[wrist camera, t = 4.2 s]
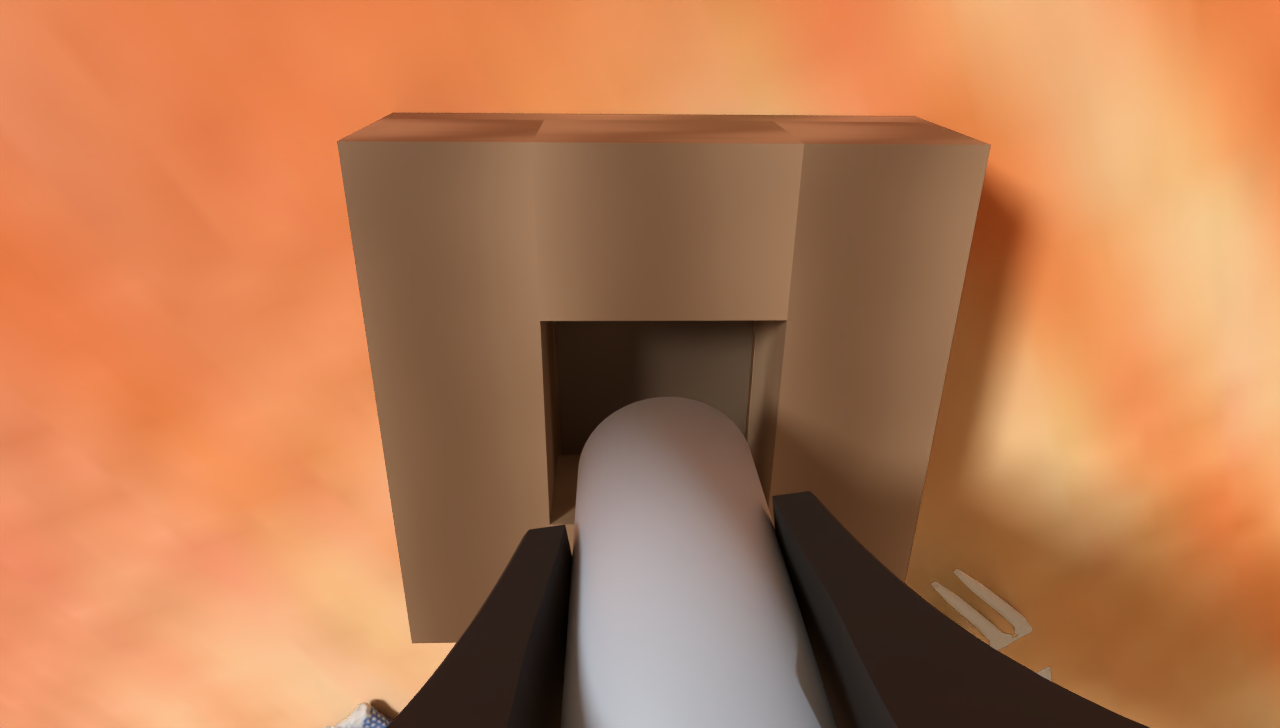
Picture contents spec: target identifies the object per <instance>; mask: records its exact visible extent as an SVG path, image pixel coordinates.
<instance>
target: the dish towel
mask: <svg viewBox="0 0 1280 728" xmlns="http://www.w3.org/2000/svg"><path fill="white" fill-rule="evenodd" d="M391 722H392V720H391V719H389V718H387V717H386V716H384V715H382V714H380V713H379V712H378V711H377V710H376V709H375V708H373V707H372V706H370V705H369V704H368V703H362V704H359V705H358V706H357V707H356V709H355V710H354V711H353V713H352V714H351V715H350V716H348V717H347V718H346V719H344V720H343V721H341V722H340V723H338V724H336V725H334V726H333V727H328V726H327V727H326V728H386V727H387V726H388V725H389V724H390V723H391Z"/></svg>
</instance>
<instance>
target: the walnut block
mask: <svg viewBox="0 0 1280 728" xmlns="http://www.w3.org/2000/svg"><path fill="white" fill-rule="evenodd" d="M337 143H338V150H339V156H340V163H341V170H342V176H343V183H344V190H345V197H346V203H347V210H348V217H349V223H350V230H351V237H352V243H353V250H354V257H355V264H356V270H357V277H358V284H359V290H360V297H361V304H362V310H363V317H364V324H365V331H366V337H367V344H368V351H369V357H370V364H371V371H372V378H373V384H374V391H375V398H376V404H377V411H378V418H379V424H380V431H381V438H382V445H383V451H384V458H385V465H386V471H387V478H388V485H389V491H390V498H391V505H392V512H393V518H394V525H395V532H396V538H397V545H398V552H399V558H400V565H401V572H402V579H403V585H404V592H405V599H406V605H407V612H408V619H409V625H410V632H411V639H412V643H454V642H457V641H458V640H459V639H460V637H461V636H462V635H463V633H464V632H465V630H466V629H467V628H468V626H469V625H470V623H471V622H472V620H473V619H474V617H475V616H476V614H477V613H478V611H479V610H480V608H481V607H482V605H483V603H484V602H485V600H486V599H487V597H488V596H489V594H490V593H491V591H492V589H493V588H494V586H495V585H496V583H497V581H498V580H499V578H500V576H501V575H502V573H503V571H504V570H505V568H506V566H507V565H508V563H509V561H510V559H511V558H512V556H513V554H514V552H515V550H516V549H517V547H518V545H519V543H520V542H521V540H522V538H523V536H524V535H525V534H526V532H527V531H528V530H529V529H536V528H543V527H550V526H558V525H565V526H566V530H567V535H568V539H569V544H570V548H571V553H572V552H573V537H574V523H575V508H576V493H577V478H578V466H579V460H580V456H581V452H582V450H583V448H584V445H585V443H586V441H587V440H588V438H589V437H590V435H591V434H592V432H593V431H594V430H595V429H596V427H597V426H598V425H599V424H600V423H601V422H602V421H604V420H605V419H606V418H607V417H608V416H610V415H611V414H613V413H614V412H615V411H617V410H619V409H621V408H623V407H625V406H627V405H629V404H632V403H634V402H637V401H641V400H645V399H649V398H656V397H681V398H687V399H692V400H696V401H699V402H702V403H705V404H707V405H709V406H711V407H713V408H715V409H717V410H719V411H720V412H722V413H723V414H725V415H726V416H727V417H728V418H729V419H731V420H732V421H733V422H734V423H735V425H736V426H737V427H738V428H739V429H740V431H741V432H742V434H743V435H744V437H745V439H746V441H747V443H748V445H749V448H750V451H751V454H752V457H753V461H754V464H755V467H756V470H757V473H758V477H759V480H760V483H761V486H762V489H763V493H764V496H765V499H766V502H767V505H768V509H769V512H770V515H771V518H772V521H773V525H774V513H773V501H772V496H776V495H783V494H790V493H798V492H805V491H810V492H811V493H813V494H814V495H815V496H817V498H818V499H819V500H820V501H821V502H822V503H823V504H824V506H825V507H826V508H827V509H828V510H829V511H830V512H831V513H832V514H833V515H834V517H835V518H836V519H837V520H838V521H839V522H840V523H841V524H842V525H843V526H844V527H845V528H846V529H847V530H848V531H849V532H850V533H851V534H852V535H853V536H854V537H855V538H856V539H857V540H858V541H859V542H860V543H861V544H862V545H863V546H864V547H865V548H866V549H867V550H868V551H869V552H870V553H871V554H873V555H874V556H875V557H876V558H877V559H878V560H879V561H880V562H881V563H882V564H883V565H884V566H886V567H887V568H888V569H889V570H890V571H891V572H892V573H893V574H895V575H896V576H897V577H898V578H899V579H900V580H901V581H903V582H904V583H905V580H906V575H907V570H908V565H909V559H910V554H911V549H912V544H913V539H914V534H915V529H916V524H917V519H918V513H919V508H920V503H921V498H922V493H923V488H924V483H925V478H926V473H927V467H928V462H929V457H930V452H931V447H932V442H933V437H934V432H935V427H936V422H937V416H938V411H939V406H940V401H941V396H942V391H943V386H944V381H945V376H946V370H947V365H948V360H949V355H950V350H951V345H952V340H953V335H954V330H955V324H956V319H957V314H958V309H959V304H960V299H961V294H962V289H963V284H964V279H965V273H966V268H967V263H968V258H969V253H970V248H971V243H972V238H973V233H974V227H975V222H976V217H977V212H978V207H979V202H980V197H981V192H982V187H983V181H984V176H985V171H986V166H987V161H988V156H989V151H990V146H991V145H990V144H987V143H984V142H982V141H979V140H976V139H974V138H971V137H968V136H966V135H963V134H961V133H958V132H955V131H953V130H950V129H947V128H945V127H942V126H939V125H937V124H934V123H931V122H929V121H926V120H923V119H921V118H918V117H915V116H807V115H659V114H511V113H392V114H390V115H388V116H386V117H384V118H382V119H380V120H378V121H376V122H374V123H372V124H370V125H368V126H366V127H364V128H362V129H360V130H358V131H356V132H354V133H353V134H351V135H349V136H347V137H345V138H343V139H341V140H339V141H337ZM774 528H775V525H774Z"/></svg>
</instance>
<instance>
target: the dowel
mask: <svg viewBox="0 0 1280 728" xmlns="http://www.w3.org/2000/svg"><path fill="white" fill-rule="evenodd" d="M561 728H837V726H836V723H835V720H834V717H833V714H832V710H831V707H830V704H829V701H828V698H827V694H826V691H825V688H824V685H823V682H822V678H821V675H820V672H819V669H818V666H817V662H816V659H815V656H814V653H813V650H812V646H811V643H810V640H809V637H808V634H807V630H806V627H805V624H804V621H803V618H802V614H801V611H800V608H799V605H798V602H797V598H796V595H795V592H794V589H793V585H792V582H791V579H790V576H789V573H788V569H787V566H786V563H785V560H784V557H783V553H782V550H781V547H780V544H779V541H778V537H777V534H776V531H775V528H774V525H773V521H772V518H771V515H770V512H769V509H768V505H767V502H766V499H765V496H764V493H763V489H762V486H761V483H760V480H759V477H758V473H757V470H756V467H755V464H754V461H753V457H752V454H751V451H750V448H749V445H748V443H747V441H746V439H745V437H744V435H743V434H742V432H741V431H740V429H739V428H738V427H737V426H736V425H735V423H734V422H733V421H732V420H731V419H729V418H728V417H727V416H726V415H725V414H723V413H722V412H720V411H719V410H717V409H715V408H713V407H711V406H709V405H707V404H705V403H702V402H699V401H696V400H692V399H687V398H681V397H656V398H649V399H645V400H641V401H637V402H634V403H632V404H629V405H627V406H625V407H623V408H621V409H619V410H617V411H615V412H614V413H613V414H611V415H610V416H608V417H607V418H606V419H605V420H604V421H602V422H601V423H600V424H599V425H598V426H597V427H596V429H595V430H594V431H593V432H592V434H591V435H590V437H589V438H588V440H587V441H586V443H585V445H584V448H583V450H582V452H581V456H580V460H579V466H578V478H577V493H576V508H575V523H574V537H573V552H572V567H571V582H570V596H569V611H568V626H567V641H566V655H565V670H564V685H563V700H562V714H561Z"/></svg>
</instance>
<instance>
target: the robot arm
mask: <svg viewBox="0 0 1280 728" xmlns="http://www.w3.org/2000/svg"><path fill="white" fill-rule="evenodd" d="M772 501H773V513H774V525H775V531H776V534H777V537H778V541H779V544H780V547H781V550H782V553H783V557H784V560H785V563H786V566H787V569H788V573H789V576H790V579H791V582H792V585H793V589H794V592H795V595H796V598H797V602H798V605H799V608H800V611H801V614H802V618H803V621H804V624H805V627H806V630H807V634H808V637H809V640H810V643H811V646H812V650H813V653H814V656H815V659H816V662H817V666H818V669H819V672H820V675H821V678H822V682H823V685H824V688H825V691H826V694H827V698H828V701H829V704H830V707H831V710H832V714H833V717H834V720H835V723H836V726H837V728H1149V727H1147V726H1144V725H1142V724H1140V723H1137V722H1135V721H1132V720H1130V719H1127V718H1125V717H1123V716H1121V715H1118V714H1116V713H1114V712H1112V711H1110V710H1108V709H1106V708H1104V707H1102V706H1099V705H1097V704H1095V703H1093V702H1091V701H1089V700H1087V699H1085V698H1083V697H1081V696H1079V695H1077V694H1075V693H1073V692H1071V691H1069V690H1067V689H1065V688H1063V687H1061V686H1059V685H1057V684H1055V683H1053V682H1051V681H1050V680H1048V679H1046V678H1044V677H1042V676H1040V675H1039V674H1037V673H1035V672H1033V671H1032V670H1030V669H1028V668H1026V667H1025V666H1023V665H1021V664H1020V663H1018V662H1016V661H1014V660H1013V659H1011V658H1009V657H1007V656H1006V655H1004V654H1002V653H1000V652H999V651H997V650H996V649H994V648H992V647H991V646H989V645H988V644H986V643H984V642H983V641H981V640H980V639H978V638H977V637H975V636H974V635H972V634H971V633H969V632H968V631H966V630H965V629H964V628H962V627H961V626H959V625H958V624H956V623H955V622H953V621H952V620H951V619H949V618H948V617H947V616H945V615H944V614H943V613H941V612H940V611H939V610H937V609H936V608H935V607H933V606H932V605H931V604H930V603H928V602H927V601H926V600H925V599H923V598H922V597H921V596H920V595H918V594H917V593H916V592H915V591H913V590H912V589H911V588H910V587H909V586H907V585H906V584H905V583H904V582H903V581H901V580H900V579H899V578H898V577H897V576H896V575H895V574H893V573H892V572H891V571H890V570H889V569H888V568H887V567H886V566H884V565H883V564H882V563H881V562H880V561H879V560H878V559H877V558H876V557H875V556H874V555H873V554H871V553H870V552H869V551H868V550H867V549H866V548H865V547H864V546H863V545H862V544H861V543H860V542H859V541H858V540H857V539H856V538H855V537H854V536H853V535H852V534H851V533H850V532H849V531H848V530H847V529H846V528H845V527H844V526H843V525H842V524H841V523H840V522H839V521H838V520H837V519H836V518H835V517H834V515H833V514H832V513H831V512H830V511H829V510H828V509H827V508H826V507H825V506H824V504H823V503H822V502H821V501H820V500H819V499H818V498H817V496H815V495H814V494H813V493H811V492H810V491H805V492H798V493H790V494H783V495H776V496H772ZM571 567H572V553H571V548H570V544H569V539H568V535H567V530H566V526H565V525H558V526H550V527H543V528H536V529H529V530H528V531H527V532H526V534H525V535H524V536H523V538H522V540H521V542H520V543H519V545H518V547H517V549H516V550H515V552H514V554H513V556H512V558H511V559H510V561H509V563H508V565H507V566H506V568H505V570H504V571H503V573H502V575H501V576H500V578H499V580H498V581H497V583H496V585H495V586H494V588H493V589H492V591H491V593H490V594H489V596H488V597H487V599H486V600H485V602H484V603H483V605H482V607H481V608H480V610H479V611H478V613H477V614H476V616H475V617H474V619H473V620H472V622H471V623H470V625H469V626H468V628H467V629H466V630H465V632H464V633H463V635H462V636H461V637H460V639H459V640H458V641H457V643H456V644H455V646H454V647H453V648H452V650H451V651H450V653H449V654H448V655H447V657H446V658H445V659H444V661H443V662H442V663H441V665H440V666H439V667H438V669H437V670H436V671H435V672H434V674H433V675H432V676H431V677H430V679H429V680H428V681H427V682H426V683H425V685H424V686H423V687H422V688H421V690H420V691H419V692H418V693H417V694H416V695H415V696H414V698H413V699H412V700H411V701H410V702H409V703H408V705H407V706H406V707H405V708H404V709H403V710H402V711H401V712H400V714H399V715H398V716H397V717H396V718H395V719H394V720H393V721H392V722H391V723H390V724H389V725H388V726H387V727H386V728H561V714H562V700H563V685H564V670H565V655H566V641H567V626H568V611H569V596H570V582H571Z"/></svg>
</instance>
